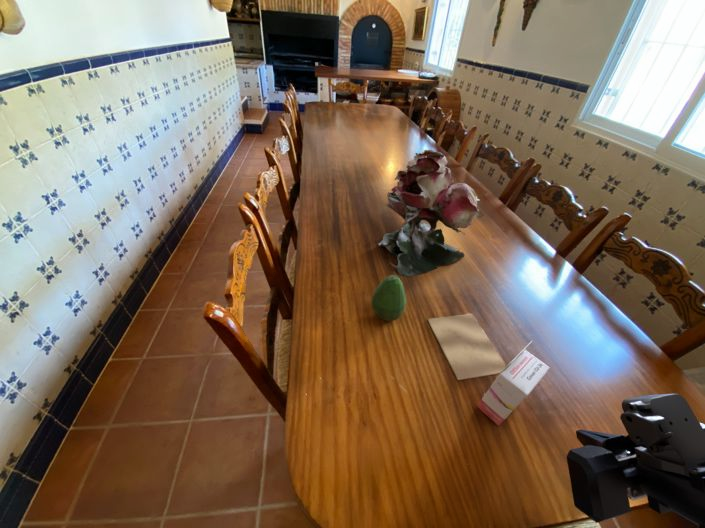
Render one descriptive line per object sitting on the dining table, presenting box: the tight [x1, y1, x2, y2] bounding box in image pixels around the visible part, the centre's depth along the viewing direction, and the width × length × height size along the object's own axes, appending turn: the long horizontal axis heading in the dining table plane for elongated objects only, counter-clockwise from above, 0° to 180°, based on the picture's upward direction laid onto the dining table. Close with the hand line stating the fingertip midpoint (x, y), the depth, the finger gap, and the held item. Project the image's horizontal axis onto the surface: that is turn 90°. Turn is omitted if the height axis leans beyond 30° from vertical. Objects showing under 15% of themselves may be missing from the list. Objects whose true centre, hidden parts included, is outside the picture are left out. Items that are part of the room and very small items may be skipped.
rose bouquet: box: [377, 149, 484, 277], centre depth 87 cm, size 26×29×30 cm
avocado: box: [371, 274, 407, 322], centre depth 69 cm, size 8×8×12 cm
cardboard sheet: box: [426, 313, 507, 382], centre depth 67 cm, size 16×12×1 cm
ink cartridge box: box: [476, 340, 550, 427], centre depth 52 cm, size 9×5×15 cm, turn 130°
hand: (578, 433), depth 41 cm, fingers closed
